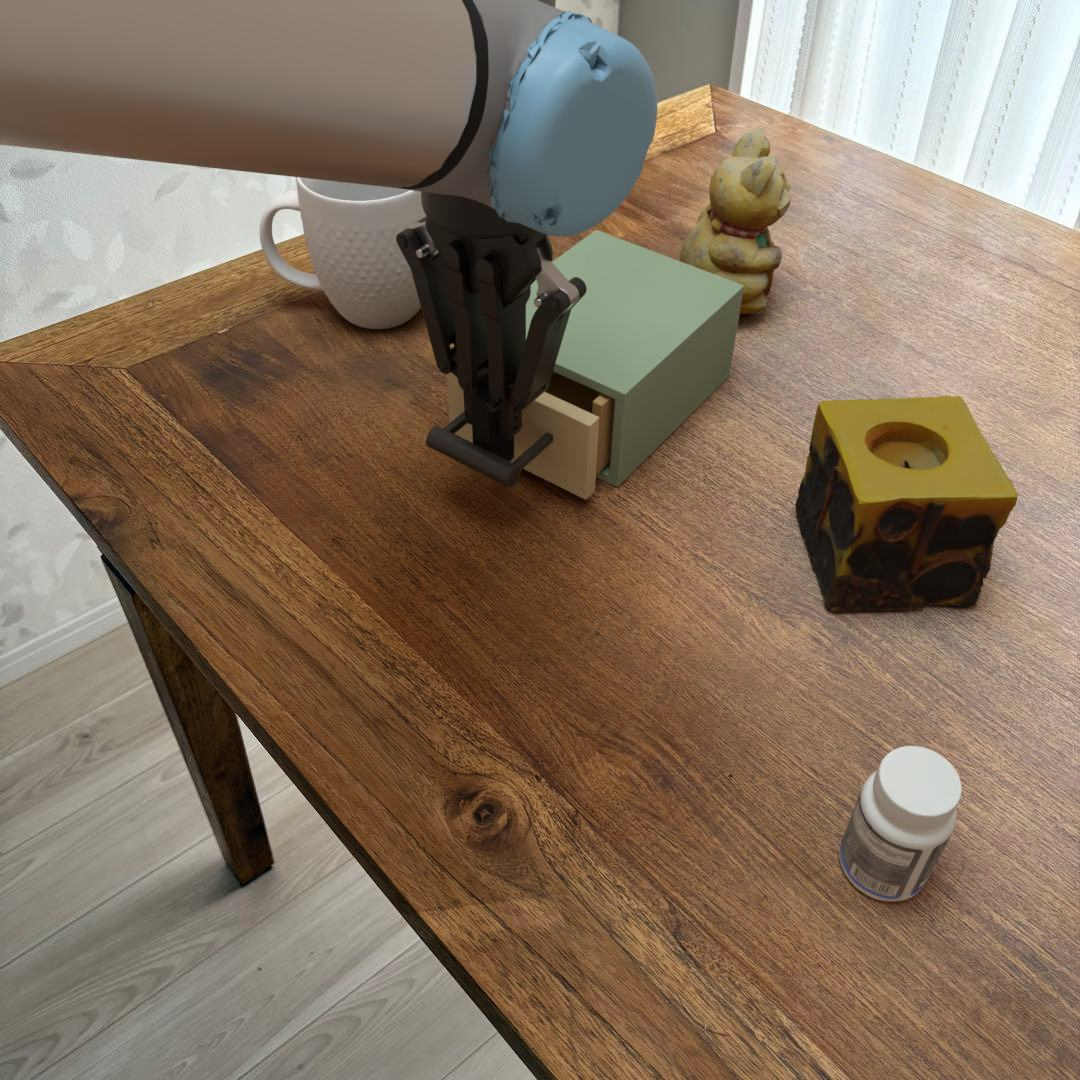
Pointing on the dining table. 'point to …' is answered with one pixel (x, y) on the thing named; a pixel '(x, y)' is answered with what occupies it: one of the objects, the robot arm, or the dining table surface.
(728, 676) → the dining table surface
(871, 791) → the pill bottle
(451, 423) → the drawer
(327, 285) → the mug
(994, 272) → the dining table surface
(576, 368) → the cabinet
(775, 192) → the decorative figurine
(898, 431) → the candle
